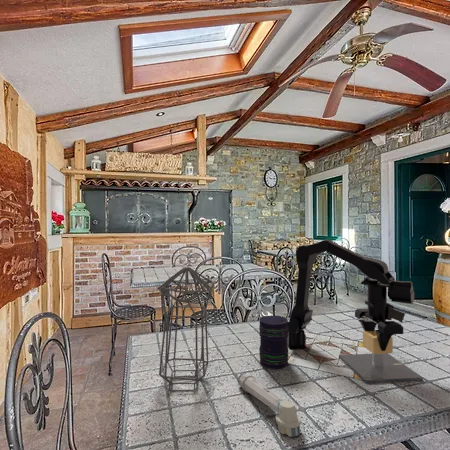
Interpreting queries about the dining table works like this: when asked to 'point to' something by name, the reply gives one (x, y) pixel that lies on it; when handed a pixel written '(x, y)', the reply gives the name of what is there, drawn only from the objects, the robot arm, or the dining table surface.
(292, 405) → the toothbrush head
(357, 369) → the hub plate
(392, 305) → the robot arm
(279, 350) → the dark purple barrel
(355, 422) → the dining table surface
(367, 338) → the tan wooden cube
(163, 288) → the geometric lantern
